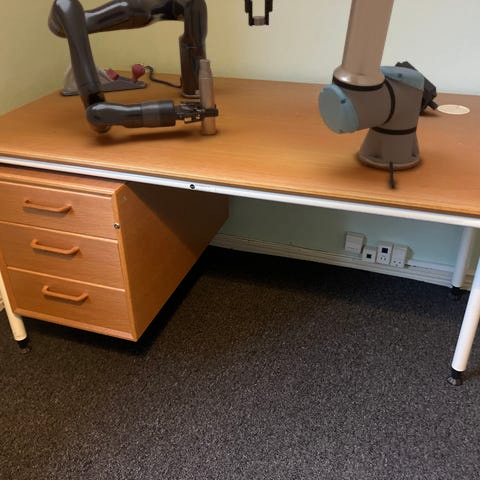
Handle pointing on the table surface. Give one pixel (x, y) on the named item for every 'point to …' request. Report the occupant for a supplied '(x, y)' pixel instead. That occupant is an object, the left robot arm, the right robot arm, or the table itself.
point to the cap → (259, 20)
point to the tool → (428, 89)
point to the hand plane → (107, 80)
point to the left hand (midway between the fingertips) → (216, 109)
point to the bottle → (206, 95)
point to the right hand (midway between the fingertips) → (258, 24)
